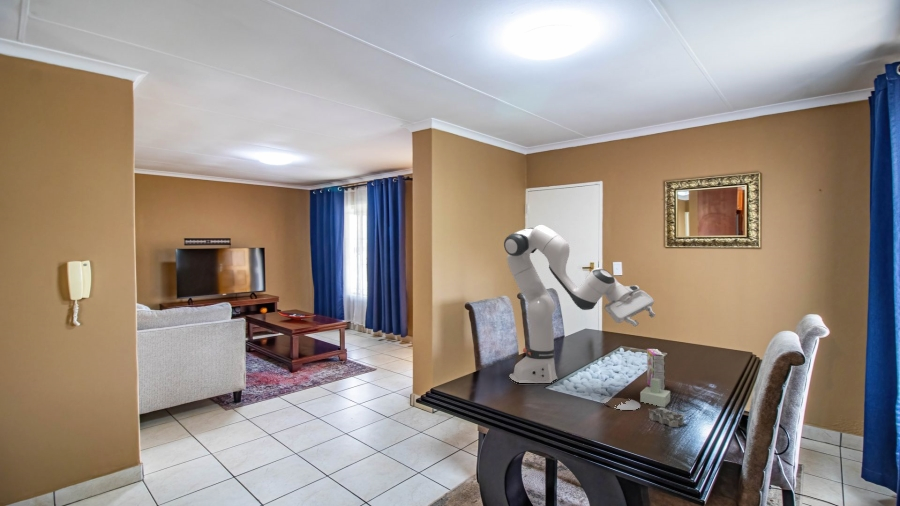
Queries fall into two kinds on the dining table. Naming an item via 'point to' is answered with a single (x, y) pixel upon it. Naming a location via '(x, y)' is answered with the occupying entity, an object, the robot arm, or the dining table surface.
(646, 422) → the dining table surface
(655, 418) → the egg carton
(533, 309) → the robot arm
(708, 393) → the dining table surface
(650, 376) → the candy bar box
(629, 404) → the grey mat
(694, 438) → the dining table surface
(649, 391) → the sage cover
